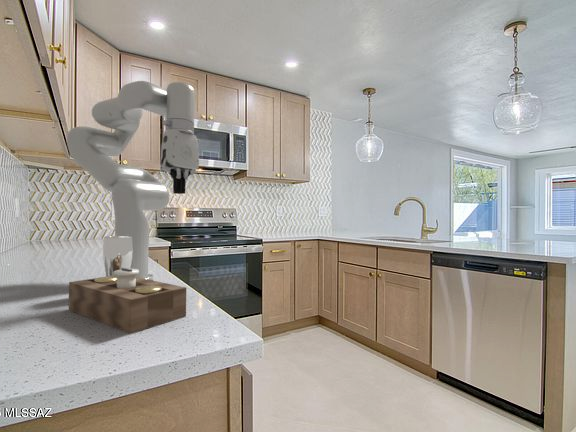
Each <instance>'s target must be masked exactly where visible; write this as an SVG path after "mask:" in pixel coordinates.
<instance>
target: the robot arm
mask: <svg viewBox="0 0 576 432" xmlns="http://www.w3.org/2000/svg"><path fill="white" fill-rule="evenodd" d="M117 93H118V94H117V97H113V98H109V99H105V100H102V101H99V102H97V103H95V104H94V105H93V106H92V109H91V116H92V118H93V119H94V121H95V122H96V123H97V124H99V125H100V126H102V127H105V128H108V129H112V130H114V131H113V132H111V131H107V130H103V129H100V128H95V127H90V126H74V127H72V128H71V129H69V131H68V132H67V136H66V145H67V148H68V152H69V154H70V156H71V158H72V159H73V160H74V161H75V163H76V164H78V165H79V166H80V167H81V168H82V169H84V170H85V171H86V172H87V173H88V174H90V175H91V177H92V178H94V180H96V181H97V182H98V184H100V185H101V186H102V187H103V189H105V190H106V191H108V192H110V193H111V201H112V205H113V206H112V207H113V210H114V211H113V212H114V236H132V246H133V255H132V263H131V268H130V269H138V270H139V274H138V275H136V277H138V278H143V279H148V280H153V281H154V275H153V274H151V273H149V243H150V242H149V235H150V232H149V230H150V228H149V227H150V226H149V221H148V218H147V216H146V214H145V213H144V211H152V212H153V211H155V212H156V211H161V210H163V209H165V208H166V207H168V205H169V202H170V193H169V190H168V189H167V187H166V185H165V184H163V183H162V182H161V181H160V180H159V179H158V178H156V177H155V176H154V175H153V174H152V173H150V172H149V171H148V170H146V169H144V168H142V167H138V166H134V165H133V166H131V165H125V164H121V163H118V162H116V161H115V160H114V159H113V158H112V157H118V156H120V155H121V154H123V152H124V151H125V150H126V149H127V147H128V145H129V144H130V143H131V140H133V138H134V136H135V134H136V132H137V131H138V129H139V126H140V121H141V119H142V116H143V111H148V112H150V113H154V114H157V115H160V116H162V117H166V118H165V120H163V121H162V124H163V126H164V127H165V130H164V132H163V135H162V141H161V147H160V164H161V170H162V171H164V172H166V173H168V174H169V175H170V178H171V179H172V190H173V191H172V193H173V194H178V195H180V194H181V195H182V194H186V182H187V181H188V179H189V176H190V175H196V174H197V171H196V170H198V169H199V166H200V152H199V143H198V139H197V135H195V96H196V95H195V89H194V87H192V86H191V85H190V84H189V83H184V82H180V81H179V82H178V81H175V82H171V83H169V84H168V85H167V88H163V87H162V86H159V85H157V84H154V83H152V82H149V81H146V80H137V81H132V82H129V83H125V84H124V85H123V86H122V87H121V88H120V89H119V91H118V92H117ZM186 180H187V181H186Z"/></svg>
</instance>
